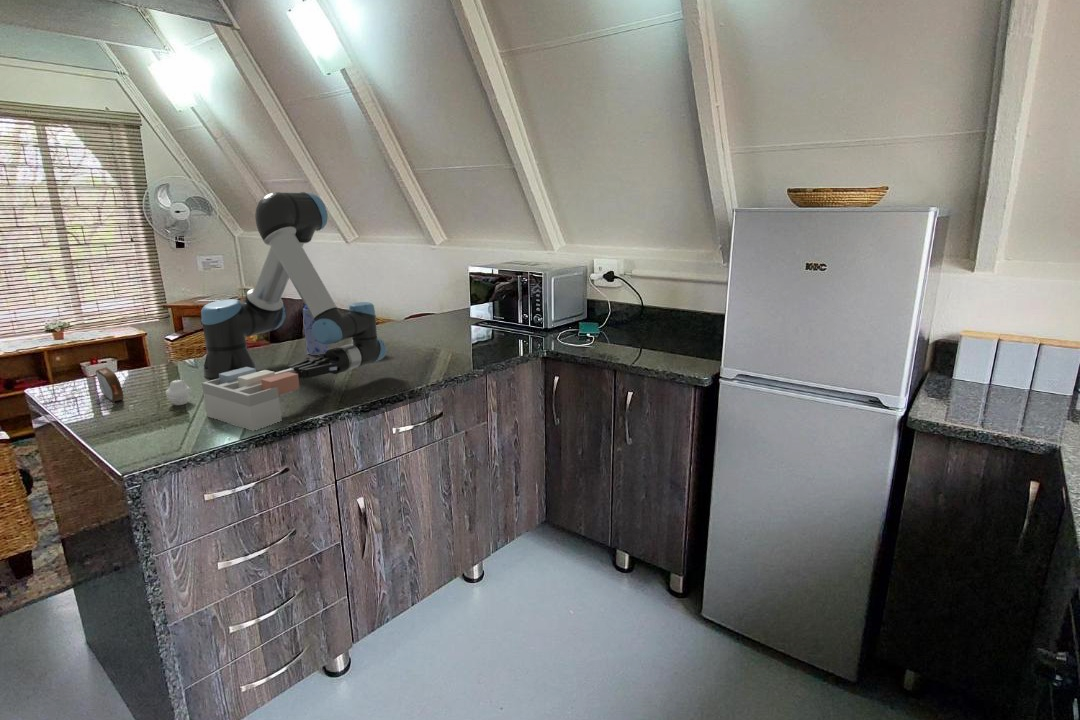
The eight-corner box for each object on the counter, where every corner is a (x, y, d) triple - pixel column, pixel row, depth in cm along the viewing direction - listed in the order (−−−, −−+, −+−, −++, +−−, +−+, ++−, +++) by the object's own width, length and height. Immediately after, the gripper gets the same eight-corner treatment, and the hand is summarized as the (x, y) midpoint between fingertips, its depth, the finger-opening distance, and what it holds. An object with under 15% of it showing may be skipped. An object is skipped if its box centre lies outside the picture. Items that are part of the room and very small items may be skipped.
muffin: (197, 399, 167) (194, 376, 165) (184, 407, 161) (180, 383, 160) (176, 399, 168) (172, 376, 166) (162, 407, 162) (158, 382, 160)
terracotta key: (262, 394, 151) (261, 379, 150) (290, 386, 158) (288, 371, 157) (272, 396, 149) (270, 381, 148) (299, 388, 156) (298, 374, 155)
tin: (126, 402, 165) (120, 374, 163) (112, 405, 163) (106, 376, 161) (111, 391, 175) (105, 364, 173) (98, 394, 173) (92, 366, 170)
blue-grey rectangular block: (220, 388, 156) (218, 373, 155) (248, 380, 162) (246, 366, 161) (229, 390, 154) (227, 376, 153) (257, 382, 160) (255, 368, 159)
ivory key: (239, 391, 153) (237, 377, 152) (267, 383, 159) (265, 369, 158) (248, 394, 151) (246, 379, 150) (276, 386, 157) (274, 371, 156)
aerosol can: (314, 356, 213) (308, 302, 207) (302, 353, 217) (296, 300, 212) (333, 352, 219) (328, 299, 213) (321, 349, 223) (316, 297, 218)
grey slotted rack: (207, 416, 155) (201, 382, 152) (235, 407, 161) (231, 375, 159) (253, 431, 145) (248, 395, 142) (281, 421, 151) (277, 387, 149)
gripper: (357, 374, 175) (289, 396, 156) (328, 367, 182) (259, 388, 162) (355, 349, 173) (286, 369, 154) (326, 344, 180) (255, 362, 160)
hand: (272, 379), depth 158 cm, fingers closed
